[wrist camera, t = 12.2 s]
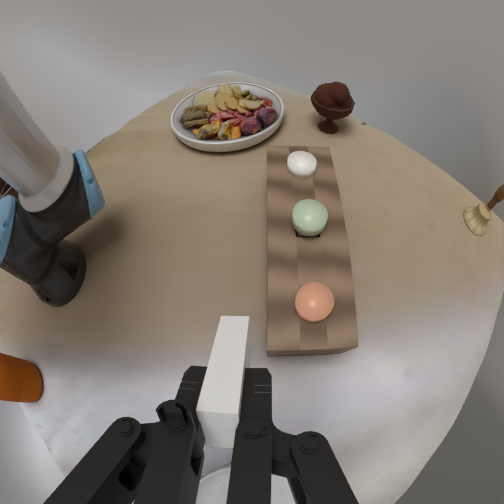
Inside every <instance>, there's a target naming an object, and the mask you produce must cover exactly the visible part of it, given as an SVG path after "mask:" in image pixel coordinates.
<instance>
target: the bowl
mask: <svg viewBox="0 0 504 504" xmlns="http://www.w3.org/2000/svg"><path fill="white" fill-rule="evenodd" d="M283 116H284V104H283V102H282V100H281V98H280V97H279V96H278V95H277V94H276V93H275V92H273V91H272V90H270V89H268V88H266V87H263V86H260V85H256V84H251V83H243V82H230V83H222V84H216V85H212V86H208V87H205V88H203V89H200V90H198V91H196V92H194V93H192V94H190V95H188V96H187V97H186V98H184V99H183V100H182V101H181V102H180V103H179V104H178V105H177V106H176V107H175V108H174V110H173V112H172V114H171V119H170V123H171V127H172V130H173V132H174V134H175V135H176V136H177V137H178V139H179V140H181V141H182V142H183V143H185V144H186V145H188V146H190V147H192V148H195V149H198V150H203V151H209V152H228V151H235V150H240V149H244V148H248V147H250V146H253V145H256V144H258V143H260V142H262V141H263V140H265V139H267V138H268V137H269V136H271V135H272V134H273V133H274V132H275V131H276V130H277V128H278V127H279V126H280V124H281V122H282V119H283Z"/></svg>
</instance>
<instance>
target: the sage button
mask: <svg viewBox="0 0 504 504" xmlns="http://www.w3.org/2000/svg"><path fill="white" fill-rule="evenodd" d="M327 219H328V212H327V210H326V208H325V206H324V205H323V204H321V203H320V202H318V201H316V200H312V199H305V200H301V201H299V202H298V203H297V204H296V205H295V206H294V208H293V213H292V225H293V227H294V228H295V230H296V237H318V234H319V233H321V232H322V231H323V229H324V228H325V225H326V222H327Z"/></svg>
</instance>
